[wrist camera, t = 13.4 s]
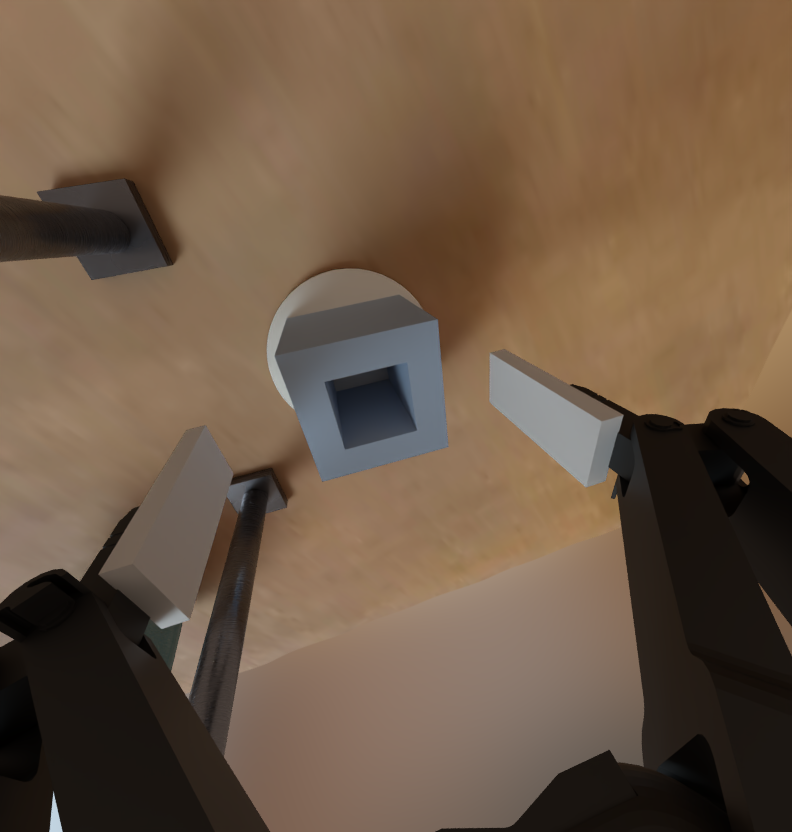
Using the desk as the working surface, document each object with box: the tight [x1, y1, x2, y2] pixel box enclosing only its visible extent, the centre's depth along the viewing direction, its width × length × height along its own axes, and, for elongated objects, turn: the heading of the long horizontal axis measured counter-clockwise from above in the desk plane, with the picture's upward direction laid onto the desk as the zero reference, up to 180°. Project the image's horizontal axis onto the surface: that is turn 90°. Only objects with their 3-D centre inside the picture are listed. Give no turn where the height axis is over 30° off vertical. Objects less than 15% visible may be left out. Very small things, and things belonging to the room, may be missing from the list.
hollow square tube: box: [275, 295, 448, 482], centre depth 18 cm, size 7×7×7 cm
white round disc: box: [267, 268, 422, 410], centre depth 21 cm, size 11×11×1 cm
